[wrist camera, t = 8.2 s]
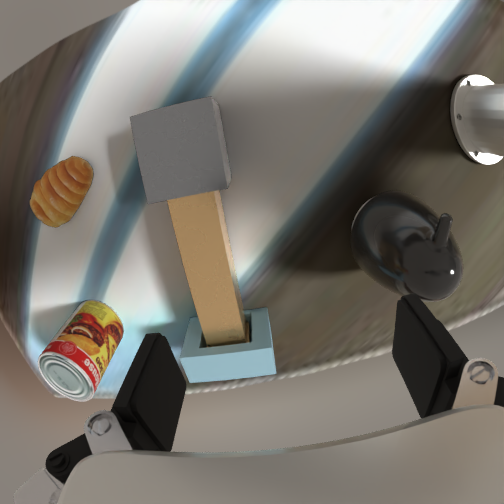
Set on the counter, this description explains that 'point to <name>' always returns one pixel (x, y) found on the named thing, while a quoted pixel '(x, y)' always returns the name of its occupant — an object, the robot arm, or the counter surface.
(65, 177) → the pastry
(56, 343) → the canned food
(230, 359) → the socket block
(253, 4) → the counter surface
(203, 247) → the tan wooden plank
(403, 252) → the pump dispenser
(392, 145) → the counter surface
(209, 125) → the gray square block
